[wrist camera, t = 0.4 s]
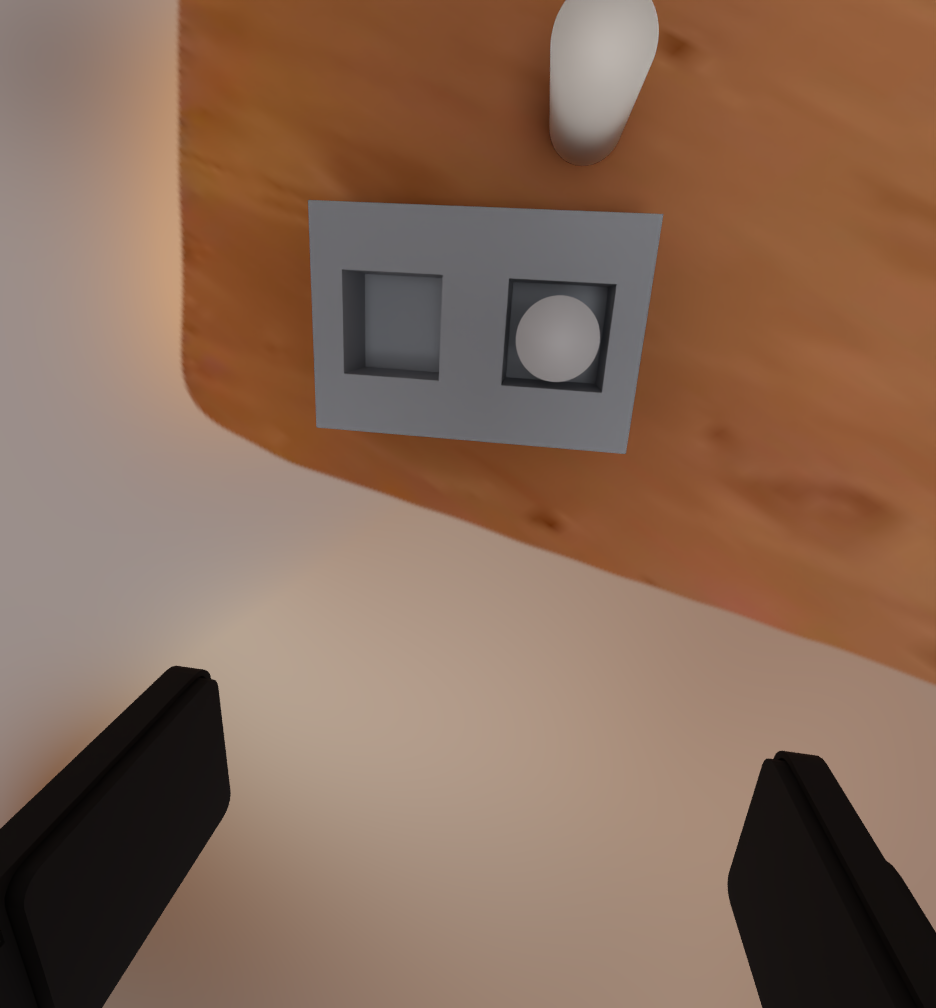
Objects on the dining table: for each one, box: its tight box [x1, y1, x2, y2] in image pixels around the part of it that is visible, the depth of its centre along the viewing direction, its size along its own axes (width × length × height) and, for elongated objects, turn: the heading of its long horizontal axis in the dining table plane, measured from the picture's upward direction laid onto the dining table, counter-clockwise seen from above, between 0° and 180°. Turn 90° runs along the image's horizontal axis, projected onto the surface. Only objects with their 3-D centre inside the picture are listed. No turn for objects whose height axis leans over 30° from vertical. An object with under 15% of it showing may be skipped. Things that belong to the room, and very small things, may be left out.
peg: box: [549, 0, 659, 166], centre depth 26 cm, size 4×4×10 cm
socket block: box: [308, 200, 663, 454], centre depth 31 cm, size 12×18×8 cm, turn 87°
